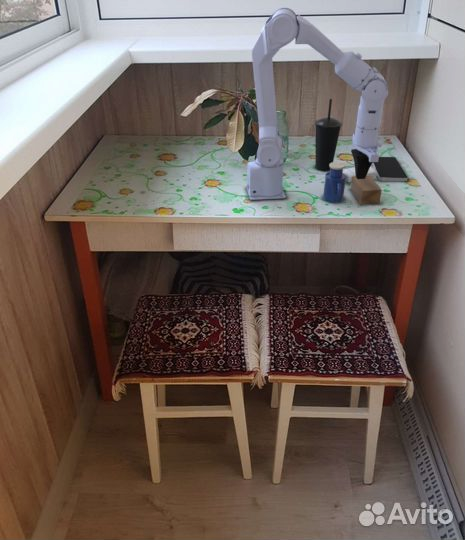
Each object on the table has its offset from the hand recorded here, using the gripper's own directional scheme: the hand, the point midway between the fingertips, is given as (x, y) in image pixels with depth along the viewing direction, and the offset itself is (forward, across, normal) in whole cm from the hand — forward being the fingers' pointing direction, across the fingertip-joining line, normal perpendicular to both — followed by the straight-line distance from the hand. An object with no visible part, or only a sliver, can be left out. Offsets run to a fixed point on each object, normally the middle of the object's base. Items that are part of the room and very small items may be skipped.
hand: (360, 178), depth 130 cm
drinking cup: (+6, +20, +4) cm, 21 cm away
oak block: (+6, 0, -2) cm, 6 cm away
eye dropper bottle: (+4, +12, -8) cm, 14 cm away
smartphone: (+6, +16, -14) cm, 22 cm away
